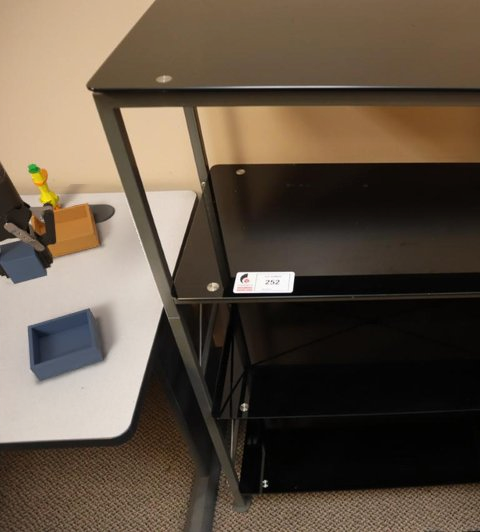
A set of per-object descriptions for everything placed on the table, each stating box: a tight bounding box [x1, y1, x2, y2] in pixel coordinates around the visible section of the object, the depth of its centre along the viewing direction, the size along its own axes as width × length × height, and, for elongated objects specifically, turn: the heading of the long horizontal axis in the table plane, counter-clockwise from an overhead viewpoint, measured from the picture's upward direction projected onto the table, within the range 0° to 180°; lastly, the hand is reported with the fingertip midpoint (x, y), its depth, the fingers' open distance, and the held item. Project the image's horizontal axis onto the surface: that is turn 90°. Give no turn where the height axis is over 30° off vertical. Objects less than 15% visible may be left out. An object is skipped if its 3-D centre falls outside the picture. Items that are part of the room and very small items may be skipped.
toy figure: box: [27, 163, 62, 210], centre depth 110 cm, size 7×4×12 cm, turn 18°
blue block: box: [0, 239, 48, 285], centre depth 77 cm, size 4×4×4 cm
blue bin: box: [27, 307, 104, 382], centre depth 88 cm, size 10×10×4 cm
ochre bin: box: [30, 202, 101, 258], centre depth 107 cm, size 11×11×4 cm
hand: (29, 269), depth 79 cm, fingers closed on blue block, 4 cm apart
